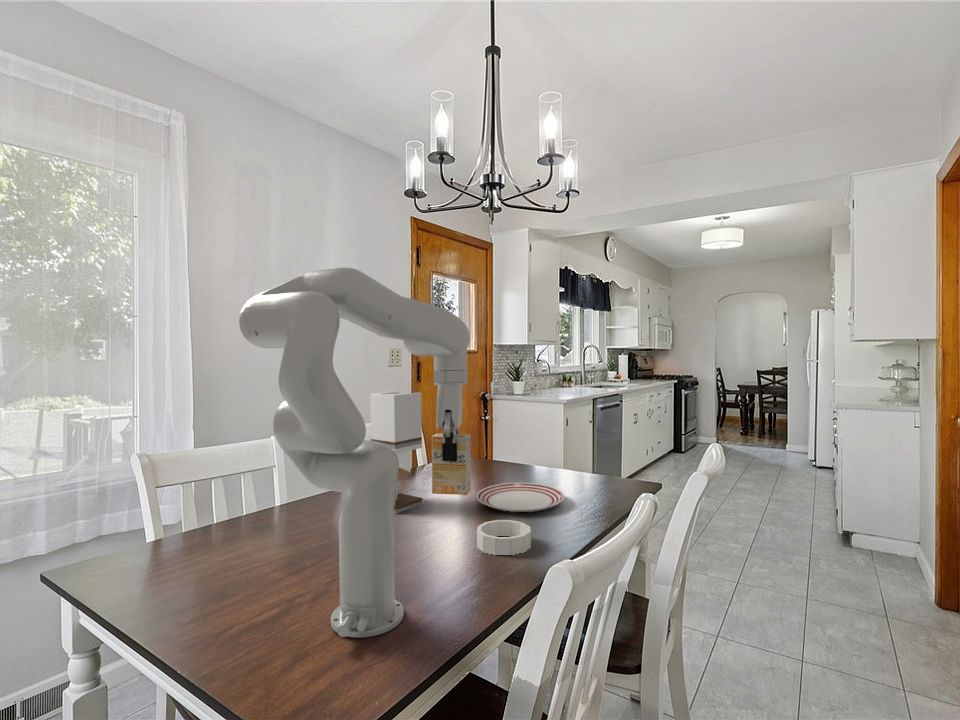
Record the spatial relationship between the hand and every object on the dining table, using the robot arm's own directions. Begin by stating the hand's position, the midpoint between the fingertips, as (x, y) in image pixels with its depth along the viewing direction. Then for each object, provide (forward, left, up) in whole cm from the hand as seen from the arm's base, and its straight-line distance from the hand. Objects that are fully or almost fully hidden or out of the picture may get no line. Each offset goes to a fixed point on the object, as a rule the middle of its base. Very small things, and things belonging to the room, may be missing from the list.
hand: (451, 457), depth 114 cm
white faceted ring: (+10, -12, -23) cm, 28 cm away
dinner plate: (+44, -16, -24) cm, 53 cm away
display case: (+40, +22, -24) cm, 51 cm away
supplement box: (0, 0, -8) cm, 8 cm away
